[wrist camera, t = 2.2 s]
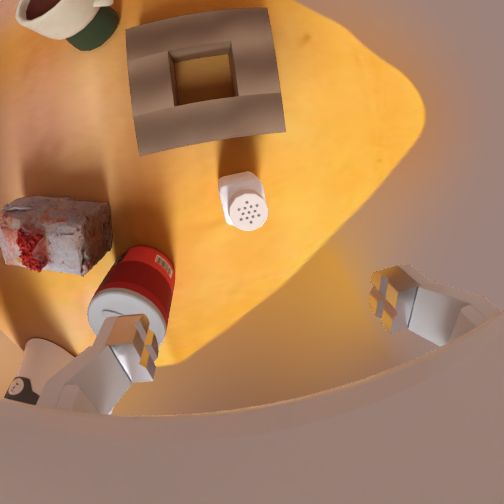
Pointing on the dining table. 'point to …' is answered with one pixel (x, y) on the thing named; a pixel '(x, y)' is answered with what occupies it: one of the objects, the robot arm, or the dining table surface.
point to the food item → (55, 234)
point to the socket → (198, 46)
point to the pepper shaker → (243, 200)
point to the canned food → (136, 290)
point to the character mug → (70, 20)
